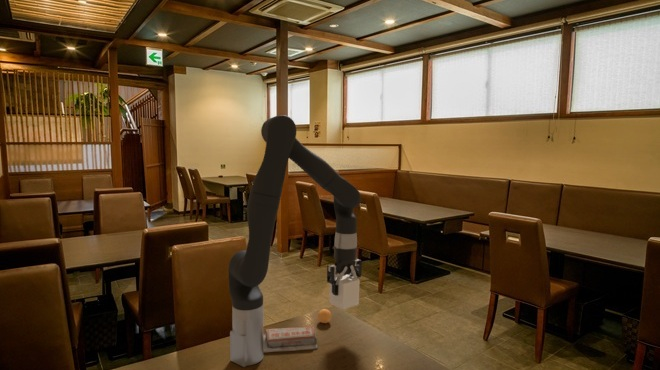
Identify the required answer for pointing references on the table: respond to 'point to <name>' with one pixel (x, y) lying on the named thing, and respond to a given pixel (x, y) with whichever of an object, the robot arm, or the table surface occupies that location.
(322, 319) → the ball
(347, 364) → the table surface
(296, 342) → the packaged product
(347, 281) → the white foam cube
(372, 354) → the table surface
